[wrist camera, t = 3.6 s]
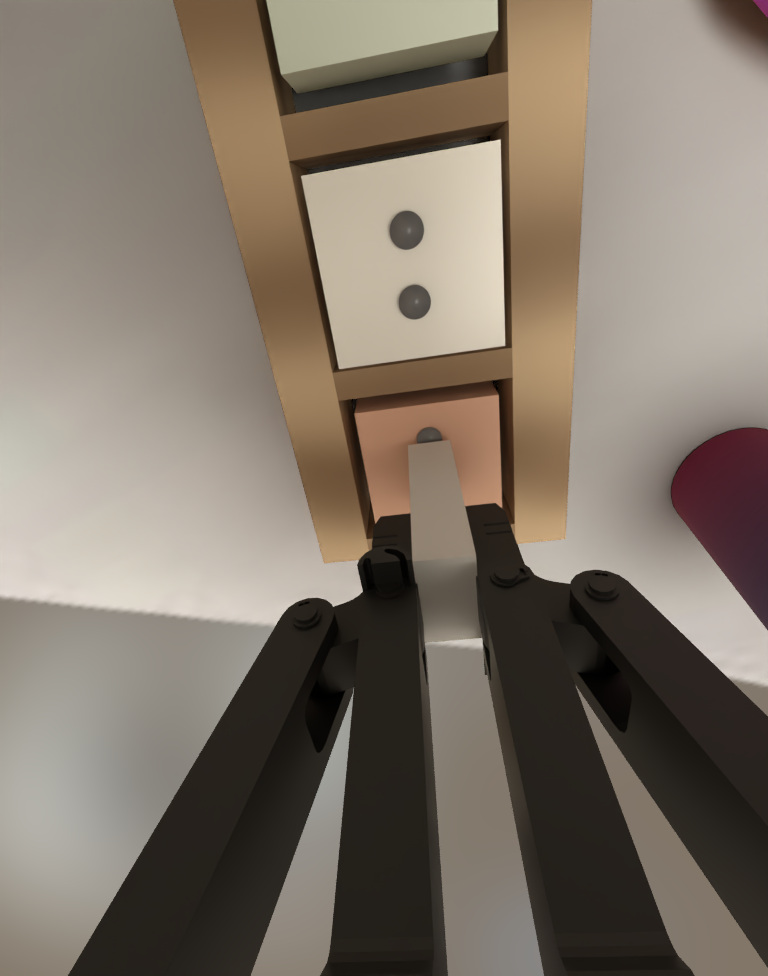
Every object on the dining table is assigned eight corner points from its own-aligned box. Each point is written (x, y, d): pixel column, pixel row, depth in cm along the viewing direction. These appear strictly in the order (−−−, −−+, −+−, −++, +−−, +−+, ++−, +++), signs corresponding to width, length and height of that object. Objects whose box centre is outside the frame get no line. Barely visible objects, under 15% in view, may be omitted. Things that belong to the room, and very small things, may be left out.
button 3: (358, 393, 19) (354, 415, 17) (488, 376, 18) (500, 396, 16) (378, 502, 21) (376, 532, 19) (493, 489, 21) (503, 519, 19)
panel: (158, -193, 12) (91, -303, 9) (564, -302, 11) (614, -458, 8) (332, 523, 23) (323, 563, 20) (545, 500, 22) (565, 538, 19)
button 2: (313, 180, 14) (299, 175, 12) (487, 149, 13) (501, 138, 11) (345, 351, 16) (338, 371, 14) (493, 330, 16) (506, 347, 14)
